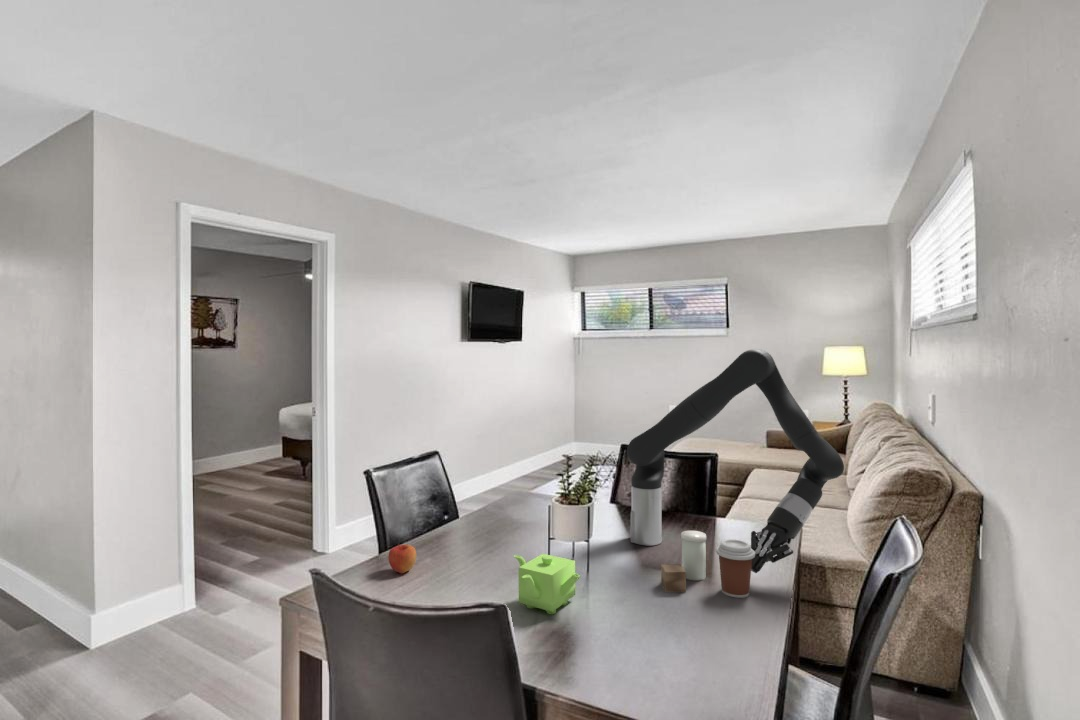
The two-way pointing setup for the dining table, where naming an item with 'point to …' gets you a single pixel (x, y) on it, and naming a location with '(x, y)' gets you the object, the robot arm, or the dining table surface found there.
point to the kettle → (546, 582)
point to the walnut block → (673, 578)
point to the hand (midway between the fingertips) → (751, 570)
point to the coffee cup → (735, 567)
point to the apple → (402, 558)
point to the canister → (694, 554)
